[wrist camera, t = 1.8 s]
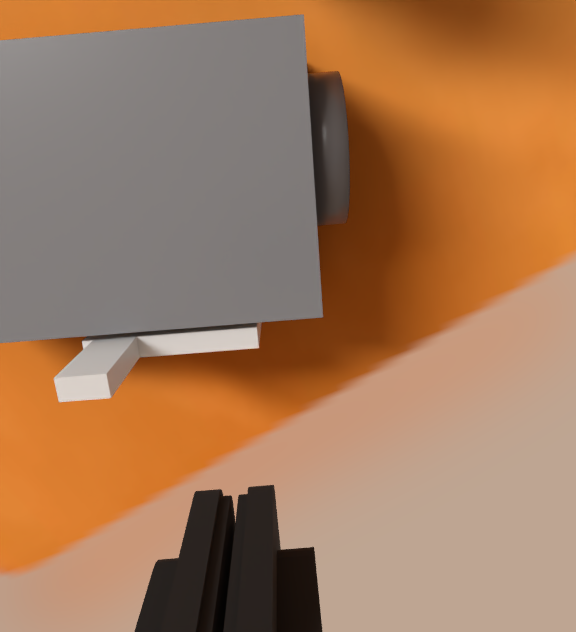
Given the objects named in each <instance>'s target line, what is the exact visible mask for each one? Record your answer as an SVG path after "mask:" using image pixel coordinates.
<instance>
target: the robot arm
mask: <svg viewBox="0 0 576 632" xmlns="http://www.w3.org/2000/svg"><path fill="white" fill-rule="evenodd" d="M135 632H322V624H321V614H320V604H319V593H318V583H317V574H316V563H315V552H314V547H310V548H298V549H286V550H280V540H279V530H278V519H277V509H276V499H275V490H274V485H269V486H256V487H249V488H248V494H244V495H239V497H238V505H237V514H236V523H235V516H234V508H233V500H232V496H223V493H222V490H207V491H196V492H195V494H194V497H193V501H192V506H191V509H190V513H189V518H188V522H187V526H186V530H185V534H184V538H183V542H182V546H181V550H180V554H179V558H175V559H163V560H158V561H157V562H156V564H155V566H154V569H153V572H152V575H151V579H150V582H149V585H148V589H147V592H146V595H145V599H144V602H143V605H142V609H141V612H140V615H139V619H138V622H137V625H136V629H135Z"/></svg>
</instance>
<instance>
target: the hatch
mask: <svg viewBox="0 0 576 632" xmlns="http://www.w3.org/2000/svg"><path fill="white" fill-rule="evenodd" d="M261 325H262V322H259V323H246V324H234V325H221V326H209V327H196V328H184V329H171V330H158V331H146V332H133V333H121V334H108V335H96V336H87V337H86V338H85V339H84V340H83V341H82V345H83V350H82V351H81V352H80V353H79V354H78V355H77V356H76V357H75V358H74V359H73V360H72V361H71V362H70V363H69V364H68V365H67V366H66V367H65V368H64V369H63V370H62V371H60V372H59V373H58V374H57V375H56V376H55V377H54V381H55V386H56V391H57V395H58V400H59V402H67V401H80V400H93V399H105V398H111V397H112V396H113V394H114V393H115V392H116V390H117V389H118V387H119V386H120V385H121V383H122V382H123V380H124V379H125V378H126V376H127V375H128V373H129V372H130V370H131V369H132V368H133V366H134V365H135V363H136V362H137V361H138V359H139V358H140V357H152V356H165V355H177V354H190V353H203V352H215V351H228V350H241V349H253V348H259V342H260V334H261Z"/></svg>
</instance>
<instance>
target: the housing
mask: <svg viewBox="0 0 576 632" xmlns="http://www.w3.org/2000/svg"><path fill="white" fill-rule="evenodd" d="M349 194H350V163H349V140H348V125H347V114H346V105H345V97H344V90H343V85H342V80H341V76H340V74H339V72H338V71H334V72H322V73H310V74H307V58H306V42H305V27H304V15H293V16H281V17H269V18H258V19H246V20H234V21H223V22H211V23H199V24H188V25H176V26H164V27H152V28H141V29H129V30H117V31H106V32H94V33H82V34H71V35H59V36H47V37H36V38H24V39H12V40H1V41H0V343H7V342H20V341H33V340H45V339H58V338H70V337H83V336H96V335H108V334H121V333H133V332H146V331H158V330H171V329H184V328H196V327H209V326H221V325H234V324H246V323H259V322H272V321H284V320H297V319H309V318H322V317H323V308H322V293H321V277H320V261H319V246H318V230H317V226H319V225H332V224H344V223H346V221H347V218H348V211H349Z"/></svg>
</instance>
